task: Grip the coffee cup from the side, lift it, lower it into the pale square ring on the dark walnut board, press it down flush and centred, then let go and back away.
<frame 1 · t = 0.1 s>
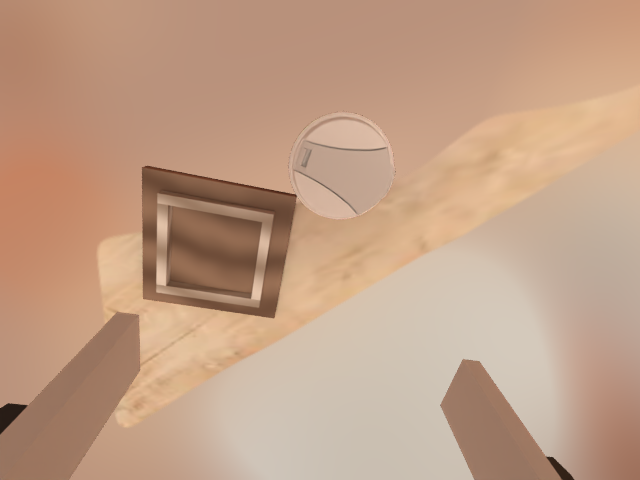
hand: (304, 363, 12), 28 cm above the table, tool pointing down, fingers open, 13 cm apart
walnut board: (217, 247, 40), on the table
coffee cup: (330, 151, 37), on the table
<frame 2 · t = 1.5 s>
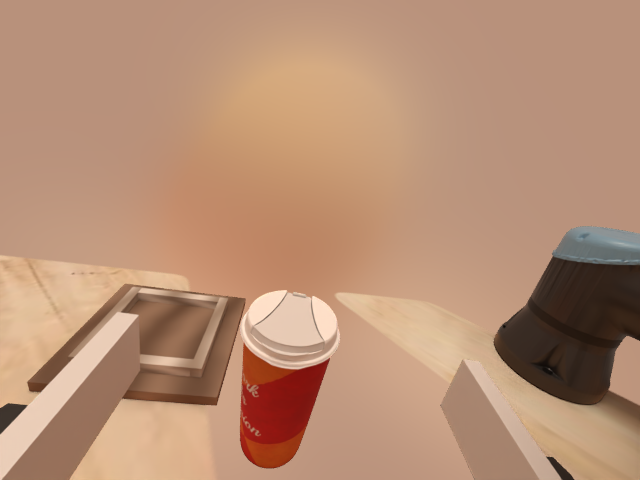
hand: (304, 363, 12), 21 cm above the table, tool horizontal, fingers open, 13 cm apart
walnut board: (162, 337, 39), on the table
coffee cup: (270, 438, 30), on the table
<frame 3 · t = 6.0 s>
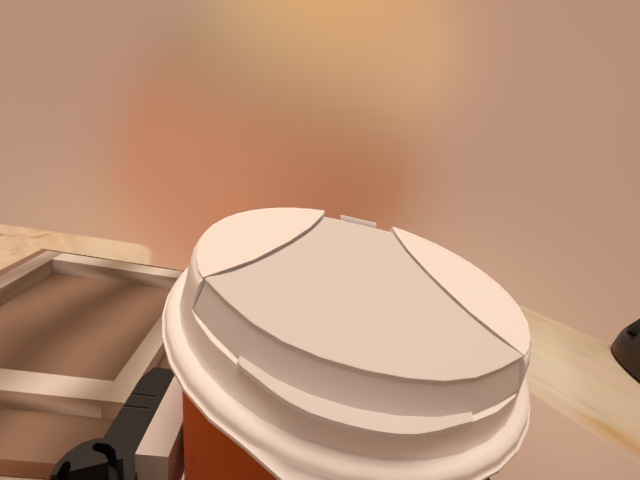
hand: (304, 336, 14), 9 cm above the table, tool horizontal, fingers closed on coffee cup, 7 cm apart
walnut board: (79, 335, 22), on the table
when the fingers open (10 cm above the table, at t = 10.1 s): coffee cup stays where it is, resting on walnut board.
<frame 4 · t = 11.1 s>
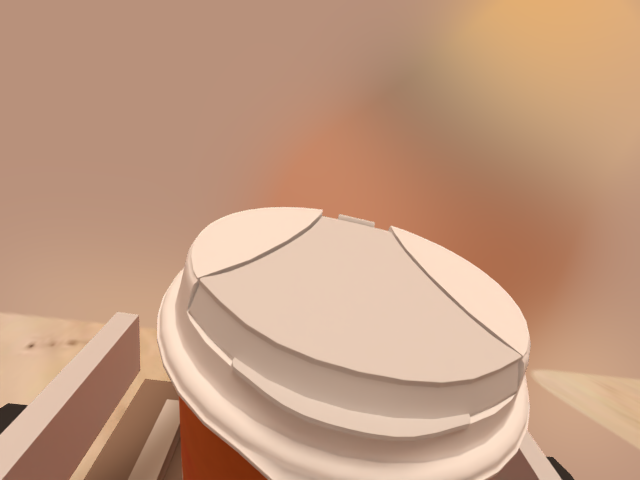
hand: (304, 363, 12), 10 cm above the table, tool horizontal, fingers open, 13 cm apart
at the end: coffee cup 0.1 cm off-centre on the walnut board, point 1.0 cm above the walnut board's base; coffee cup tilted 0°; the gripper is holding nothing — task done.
